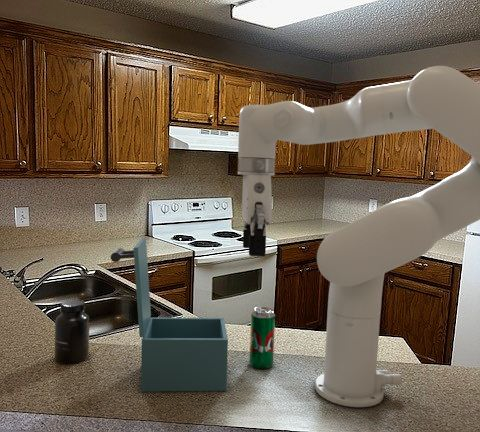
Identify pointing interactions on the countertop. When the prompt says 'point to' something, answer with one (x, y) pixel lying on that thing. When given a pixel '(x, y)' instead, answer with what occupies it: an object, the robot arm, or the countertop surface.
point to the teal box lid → (139, 280)
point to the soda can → (262, 337)
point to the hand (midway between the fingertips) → (253, 251)
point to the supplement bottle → (72, 333)
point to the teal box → (184, 355)
